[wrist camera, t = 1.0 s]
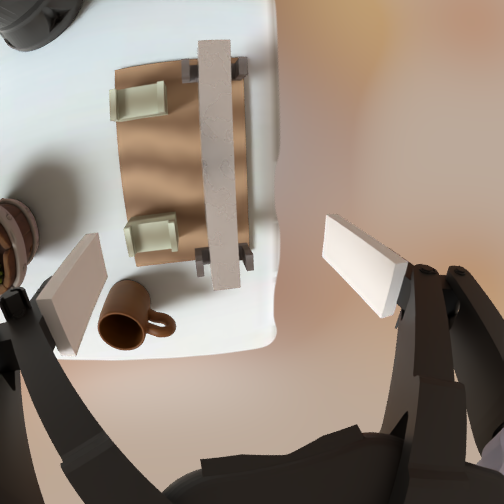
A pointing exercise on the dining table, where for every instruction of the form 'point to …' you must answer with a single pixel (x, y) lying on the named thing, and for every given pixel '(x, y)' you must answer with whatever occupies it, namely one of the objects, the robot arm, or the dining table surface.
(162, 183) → the rack
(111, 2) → the dining table surface
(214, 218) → the rail
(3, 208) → the flowerpot
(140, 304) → the mug
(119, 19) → the dining table surface
